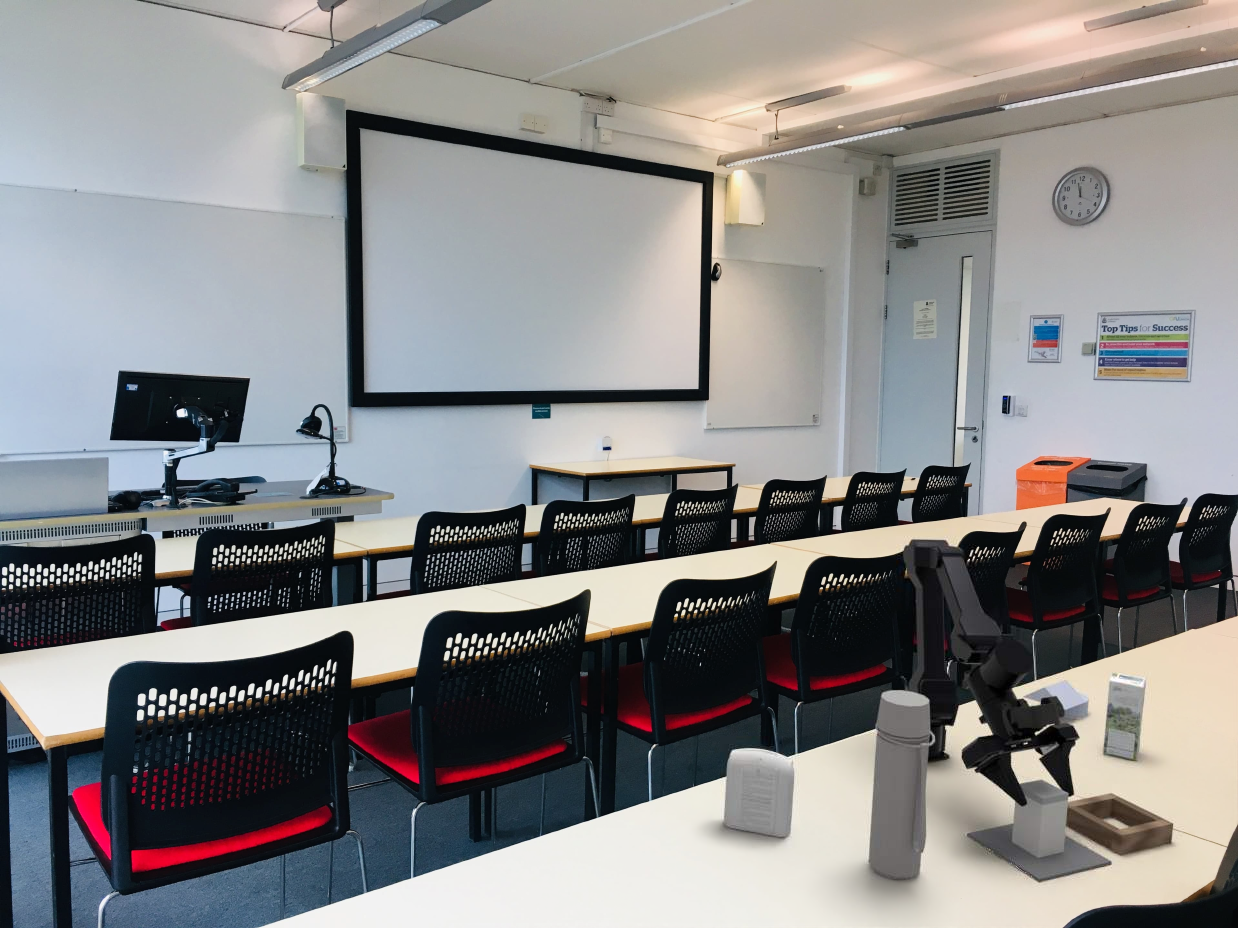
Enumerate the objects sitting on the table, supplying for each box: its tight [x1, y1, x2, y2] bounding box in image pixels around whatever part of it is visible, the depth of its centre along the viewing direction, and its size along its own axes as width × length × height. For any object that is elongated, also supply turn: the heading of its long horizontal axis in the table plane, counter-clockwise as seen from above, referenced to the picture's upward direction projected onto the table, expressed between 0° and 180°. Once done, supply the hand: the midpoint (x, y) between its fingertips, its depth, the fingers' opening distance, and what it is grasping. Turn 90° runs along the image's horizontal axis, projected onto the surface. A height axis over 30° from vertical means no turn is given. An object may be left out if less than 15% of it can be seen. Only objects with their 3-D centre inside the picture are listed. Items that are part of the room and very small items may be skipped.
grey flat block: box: [723, 747, 795, 838], centre depth 149 cm, size 10×4×12 cm, turn 72°
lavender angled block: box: [1022, 679, 1090, 719], centre depth 204 cm, size 9×7×13 cm
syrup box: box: [1102, 672, 1147, 762], centre depth 183 cm, size 6×6×14 cm
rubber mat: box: [966, 823, 1112, 882], centre depth 146 cm, size 14×14×1 cm
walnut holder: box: [1066, 792, 1174, 855], centre depth 152 cm, size 11×11×3 cm
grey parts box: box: [1012, 779, 1069, 858], centre depth 145 cm, size 5×5×9 cm
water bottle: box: [868, 689, 935, 880], centre depth 137 cm, size 9×8×25 cm
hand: (1048, 800), depth 144 cm, fingers open, 9 cm apart
